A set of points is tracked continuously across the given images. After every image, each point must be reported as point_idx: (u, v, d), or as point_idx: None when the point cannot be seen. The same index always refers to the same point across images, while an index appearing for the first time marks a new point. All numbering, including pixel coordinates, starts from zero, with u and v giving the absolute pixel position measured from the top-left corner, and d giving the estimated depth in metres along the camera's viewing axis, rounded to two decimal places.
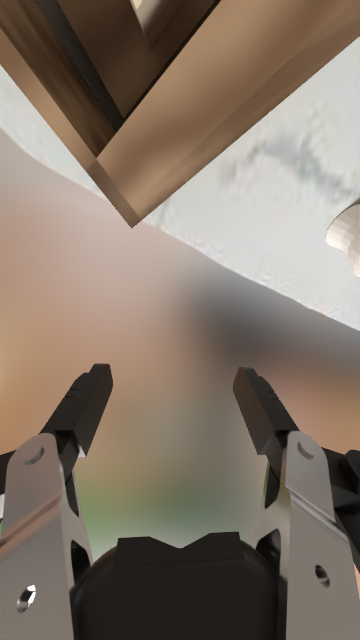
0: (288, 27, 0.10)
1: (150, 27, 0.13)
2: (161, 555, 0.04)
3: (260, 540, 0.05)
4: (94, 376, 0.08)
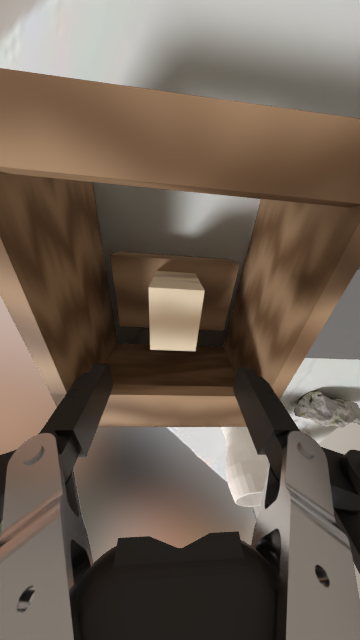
0: (215, 413, 0.18)
1: None
2: (161, 555, 0.04)
3: (260, 540, 0.05)
4: (94, 376, 0.08)
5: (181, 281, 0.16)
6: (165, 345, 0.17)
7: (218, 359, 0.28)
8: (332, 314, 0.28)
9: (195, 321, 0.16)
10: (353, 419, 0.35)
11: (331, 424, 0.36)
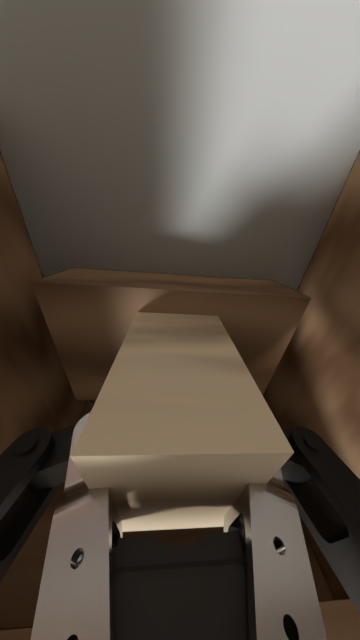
0: None
1: None
2: (161, 555, 0.04)
3: (230, 526, 0.05)
4: None
5: (195, 367, 0.06)
6: (152, 526, 0.06)
7: None
8: None
9: None
10: None
11: None
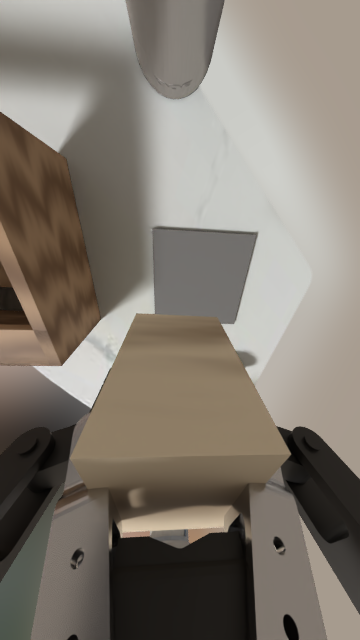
0: (1, 349, 0.21)
1: None
2: (161, 555, 0.04)
3: (230, 526, 0.05)
4: None
5: (194, 369, 0.06)
6: (151, 527, 0.06)
7: None
8: (176, 276, 0.30)
9: None
10: None
11: None
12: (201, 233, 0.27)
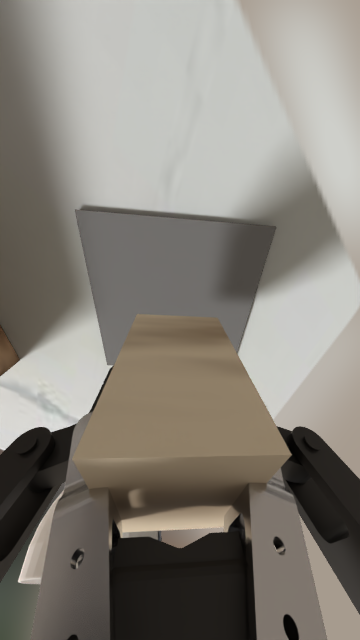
0: None
1: None
2: (161, 555, 0.04)
3: (230, 526, 0.05)
4: None
5: (195, 369, 0.06)
6: (152, 527, 0.07)
7: None
8: (133, 298, 0.17)
9: None
10: None
11: None
12: (172, 221, 0.14)
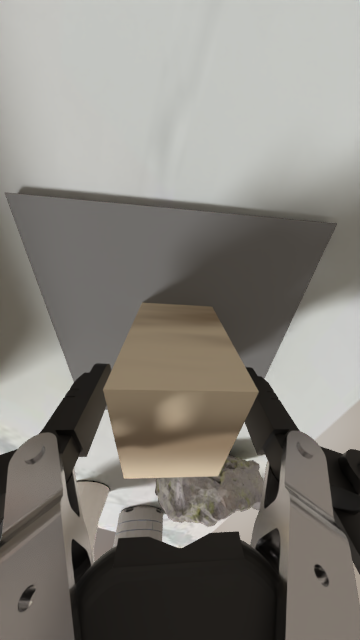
0: None
1: None
2: (161, 555, 0.04)
3: (260, 540, 0.05)
4: (94, 376, 0.08)
5: (191, 342, 0.07)
6: (155, 472, 0.08)
7: None
8: (113, 328, 0.12)
9: (224, 441, 0.07)
10: (228, 511, 0.18)
11: (192, 520, 0.19)
12: (171, 214, 0.09)
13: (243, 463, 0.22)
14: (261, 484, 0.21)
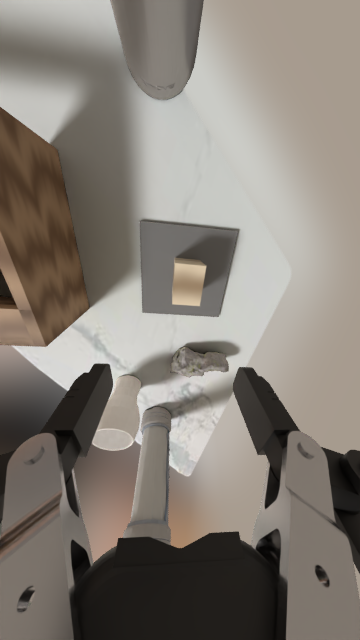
0: None
1: None
2: (161, 555, 0.04)
3: (260, 540, 0.05)
4: (94, 376, 0.08)
5: (192, 262, 0.27)
6: (181, 301, 0.28)
7: None
8: (162, 268, 0.32)
9: (200, 285, 0.26)
10: (207, 366, 0.38)
11: (190, 373, 0.39)
12: (186, 227, 0.28)
13: (216, 352, 0.41)
14: (225, 361, 0.40)
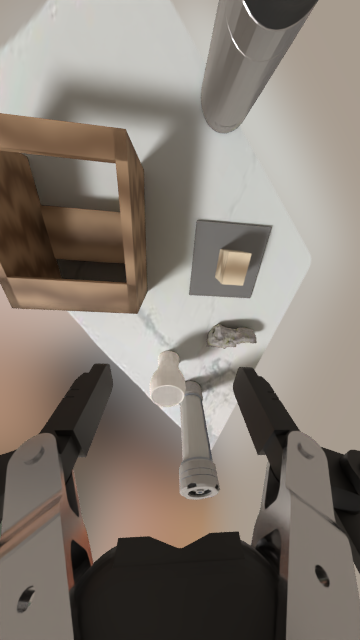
0: (101, 298, 0.30)
1: None
2: (161, 555, 0.04)
3: (260, 540, 0.05)
4: (94, 376, 0.08)
5: (238, 251, 0.36)
6: (229, 282, 0.36)
7: None
8: (210, 257, 0.40)
9: (245, 269, 0.35)
10: (240, 337, 0.46)
11: (225, 344, 0.47)
12: (232, 225, 0.37)
13: None
14: (254, 334, 0.49)
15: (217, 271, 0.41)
